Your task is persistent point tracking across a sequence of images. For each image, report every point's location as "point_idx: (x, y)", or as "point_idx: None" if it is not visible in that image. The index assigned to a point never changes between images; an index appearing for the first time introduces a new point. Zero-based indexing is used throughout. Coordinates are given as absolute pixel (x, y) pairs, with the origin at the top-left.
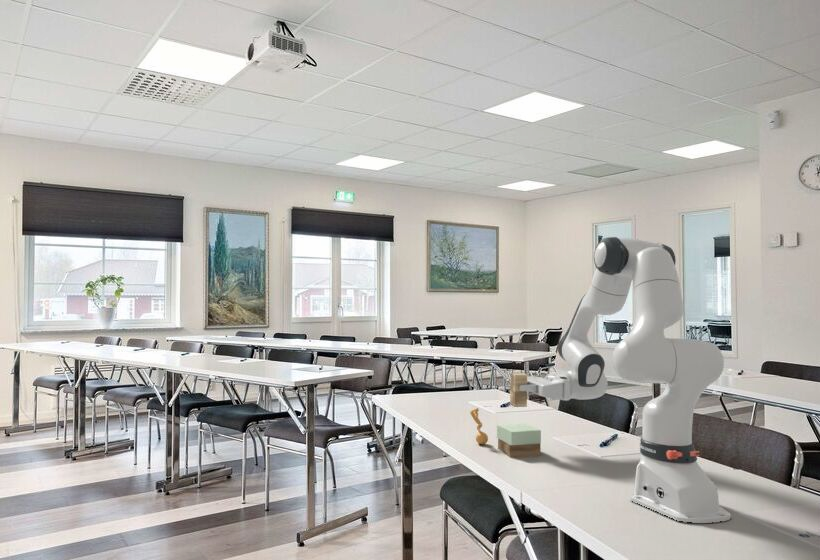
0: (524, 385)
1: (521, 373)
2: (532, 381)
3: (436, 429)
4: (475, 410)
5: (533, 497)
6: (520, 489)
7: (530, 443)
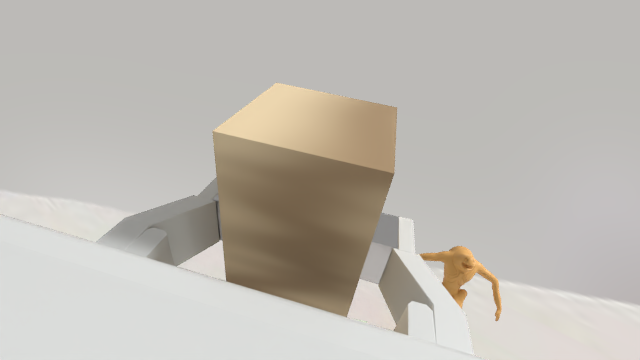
0: (205, 191)
1: (327, 137)
2: (193, 274)
3: (628, 335)
4: (457, 255)
5: (6, 193)
6: (54, 201)
7: None
